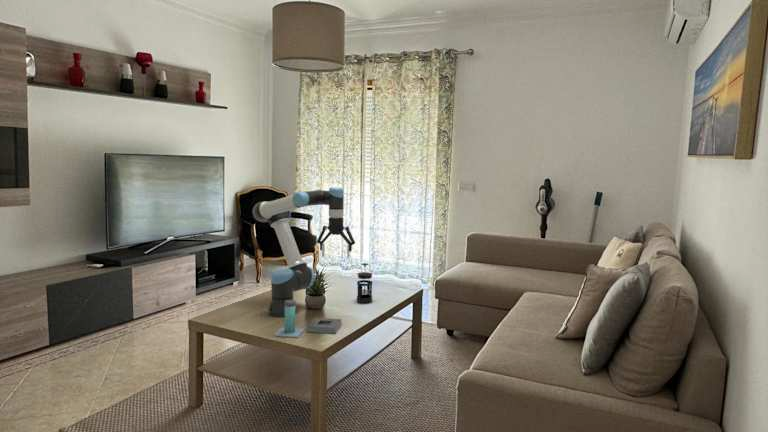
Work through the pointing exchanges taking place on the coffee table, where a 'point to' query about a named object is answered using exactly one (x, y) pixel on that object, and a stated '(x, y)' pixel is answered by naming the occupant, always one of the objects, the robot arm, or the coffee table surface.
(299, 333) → the mat
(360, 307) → the coffee table surface
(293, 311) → the plug
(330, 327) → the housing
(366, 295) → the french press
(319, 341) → the coffee table surface
